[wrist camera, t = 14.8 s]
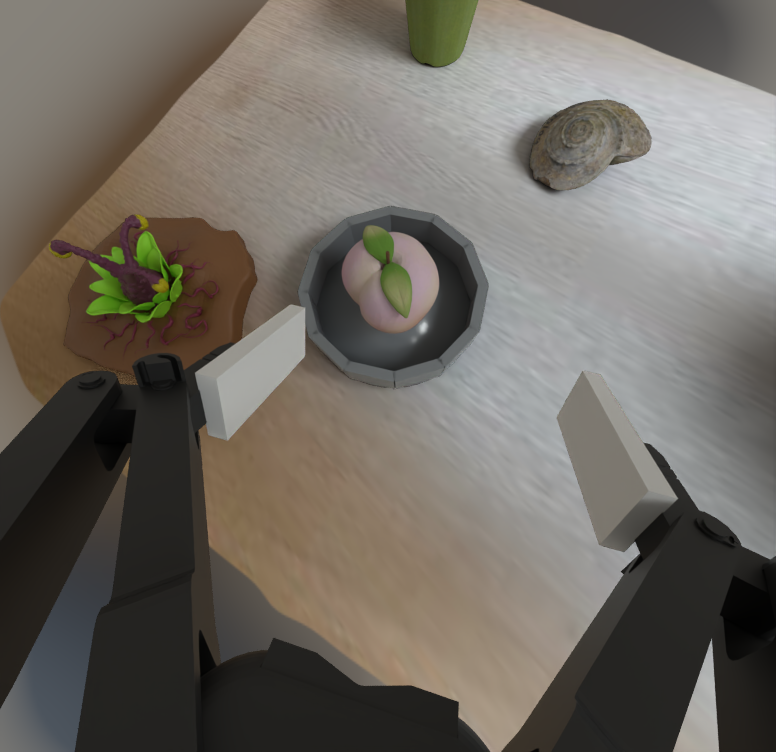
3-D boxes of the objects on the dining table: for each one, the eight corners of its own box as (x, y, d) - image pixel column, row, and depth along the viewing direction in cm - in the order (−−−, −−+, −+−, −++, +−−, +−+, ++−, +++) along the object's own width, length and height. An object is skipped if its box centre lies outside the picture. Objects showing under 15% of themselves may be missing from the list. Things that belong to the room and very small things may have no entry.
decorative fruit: (449, 320, 35) (468, 271, 25) (382, 359, 34) (375, 324, 24) (403, 253, 37) (404, 182, 27) (339, 289, 36) (316, 229, 26)
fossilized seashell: (541, 104, 40) (590, 52, 33) (608, 143, 42) (666, 102, 35) (518, 189, 39) (562, 155, 33) (586, 222, 42) (640, 197, 35)
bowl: (390, 208, 39) (389, 177, 35) (509, 303, 36) (524, 283, 32) (279, 311, 37) (263, 293, 32) (396, 423, 34) (395, 420, 29)
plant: (120, 217, 41) (17, 132, 30) (271, 237, 39) (222, 155, 28) (60, 372, 37) (-86, 340, 26) (227, 400, 35) (149, 378, 24)
